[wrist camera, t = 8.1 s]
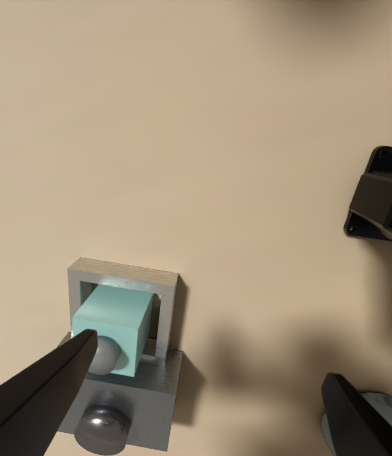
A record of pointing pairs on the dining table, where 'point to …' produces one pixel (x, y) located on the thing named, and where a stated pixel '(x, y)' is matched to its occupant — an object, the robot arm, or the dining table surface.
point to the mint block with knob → (116, 327)
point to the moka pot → (381, 402)
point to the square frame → (121, 384)
